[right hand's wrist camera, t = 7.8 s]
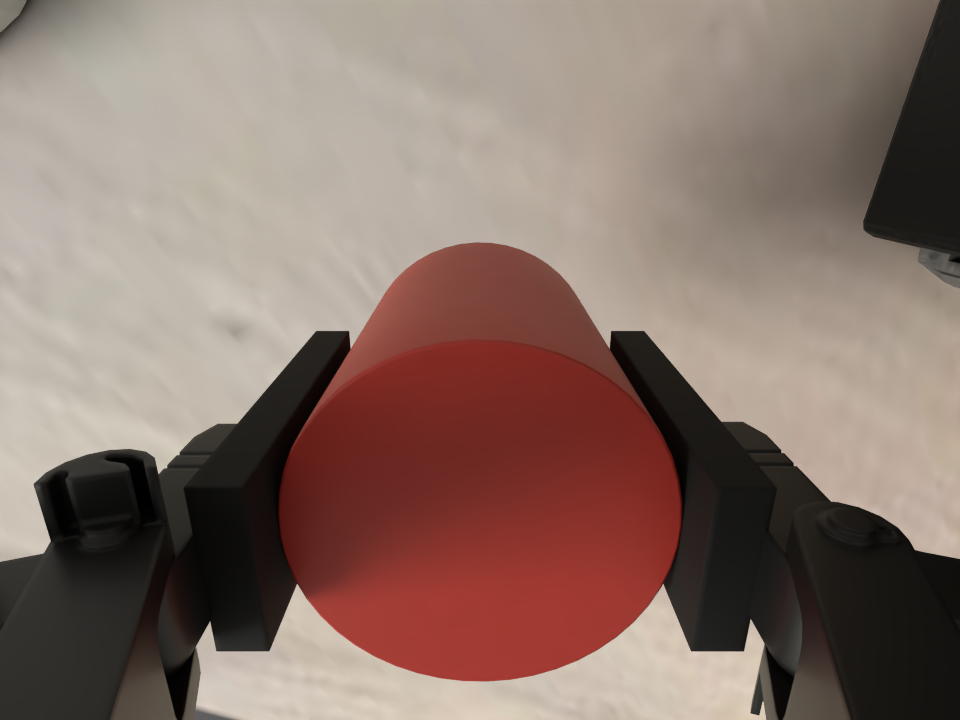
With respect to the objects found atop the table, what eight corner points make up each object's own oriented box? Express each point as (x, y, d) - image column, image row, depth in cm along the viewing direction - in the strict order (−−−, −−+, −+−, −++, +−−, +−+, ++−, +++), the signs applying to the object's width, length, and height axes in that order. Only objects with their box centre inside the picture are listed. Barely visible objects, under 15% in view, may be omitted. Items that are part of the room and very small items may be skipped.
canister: (345, 263, 15) (221, 379, 8) (577, 223, 15) (671, 305, 8) (396, 464, 17) (334, 703, 10) (601, 433, 17) (693, 658, 10)
